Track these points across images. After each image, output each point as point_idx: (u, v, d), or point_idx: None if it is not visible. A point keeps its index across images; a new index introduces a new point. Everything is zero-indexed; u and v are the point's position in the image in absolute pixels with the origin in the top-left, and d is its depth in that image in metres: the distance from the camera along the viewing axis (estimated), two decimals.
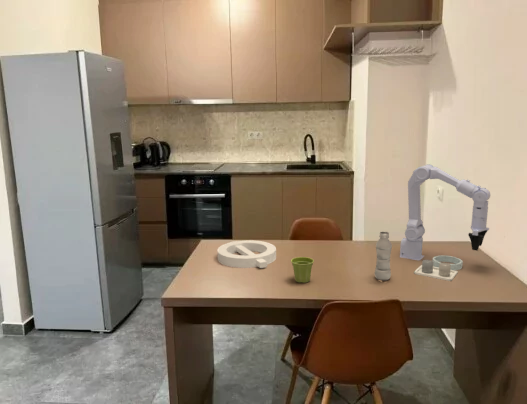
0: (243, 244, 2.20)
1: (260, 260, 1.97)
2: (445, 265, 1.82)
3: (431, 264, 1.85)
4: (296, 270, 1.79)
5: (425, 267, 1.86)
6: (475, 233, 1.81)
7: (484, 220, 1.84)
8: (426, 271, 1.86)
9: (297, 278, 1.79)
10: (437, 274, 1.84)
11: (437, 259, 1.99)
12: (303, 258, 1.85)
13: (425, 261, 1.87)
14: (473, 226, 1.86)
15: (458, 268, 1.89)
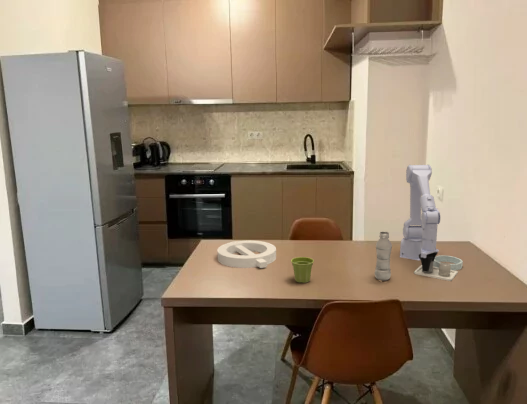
0: (243, 244, 2.20)
1: (260, 260, 1.97)
2: (445, 265, 1.82)
3: (431, 264, 1.85)
4: (296, 270, 1.79)
5: None
6: (423, 255, 1.80)
7: (433, 242, 1.82)
8: (426, 271, 1.86)
9: (297, 278, 1.79)
10: (437, 274, 1.84)
11: (437, 259, 1.99)
12: (303, 258, 1.85)
13: None
14: (423, 248, 1.85)
15: (458, 268, 1.89)
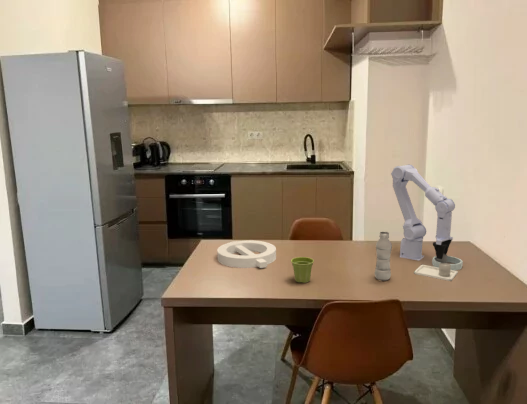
0: (243, 244, 2.20)
1: (260, 260, 1.97)
2: (445, 265, 1.82)
3: (445, 257, 1.93)
4: (296, 270, 1.79)
5: (439, 260, 1.94)
6: (438, 242, 1.88)
7: (448, 230, 1.90)
8: None
9: (297, 278, 1.79)
10: (437, 274, 1.84)
11: None
12: (303, 258, 1.85)
13: None
14: (437, 235, 1.92)
15: (458, 268, 1.89)
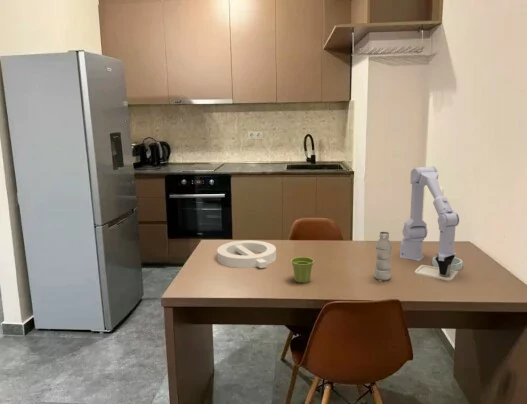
0: (243, 244, 2.20)
1: (260, 260, 1.97)
2: None
3: None
4: (296, 270, 1.79)
5: None
6: (441, 258, 1.76)
7: (451, 245, 1.78)
8: None
9: (297, 278, 1.79)
10: (437, 274, 1.84)
11: None
12: (303, 258, 1.85)
13: None
14: (440, 251, 1.81)
15: (458, 268, 1.89)
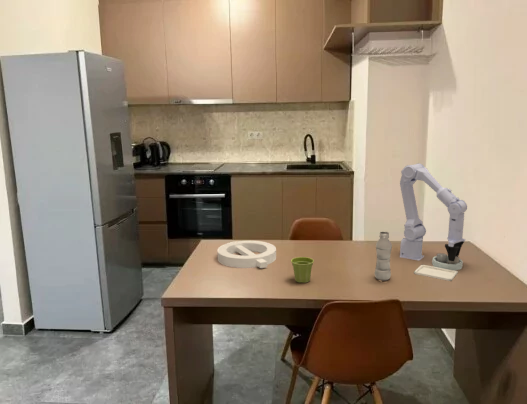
0: (243, 244, 2.20)
1: (260, 260, 1.97)
2: None
3: (445, 257, 1.93)
4: (296, 270, 1.79)
5: (439, 260, 1.94)
6: (451, 244, 1.85)
7: (460, 231, 1.87)
8: None
9: (297, 278, 1.79)
10: (437, 274, 1.84)
11: None
12: (303, 258, 1.85)
13: (439, 254, 1.95)
14: (449, 237, 1.90)
15: (458, 268, 1.89)
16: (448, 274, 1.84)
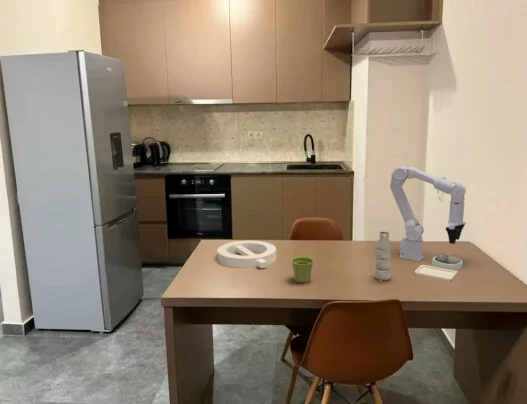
0: (243, 244, 2.20)
1: (260, 260, 1.97)
2: (454, 257, 1.92)
3: (445, 257, 1.93)
4: (296, 270, 1.79)
5: (439, 260, 1.94)
6: (452, 227, 1.89)
7: (461, 215, 1.92)
8: None
9: (297, 278, 1.79)
10: (437, 274, 1.84)
11: None
12: (303, 258, 1.85)
13: (439, 254, 1.95)
14: (450, 220, 1.94)
15: (458, 268, 1.89)
16: (448, 274, 1.84)
